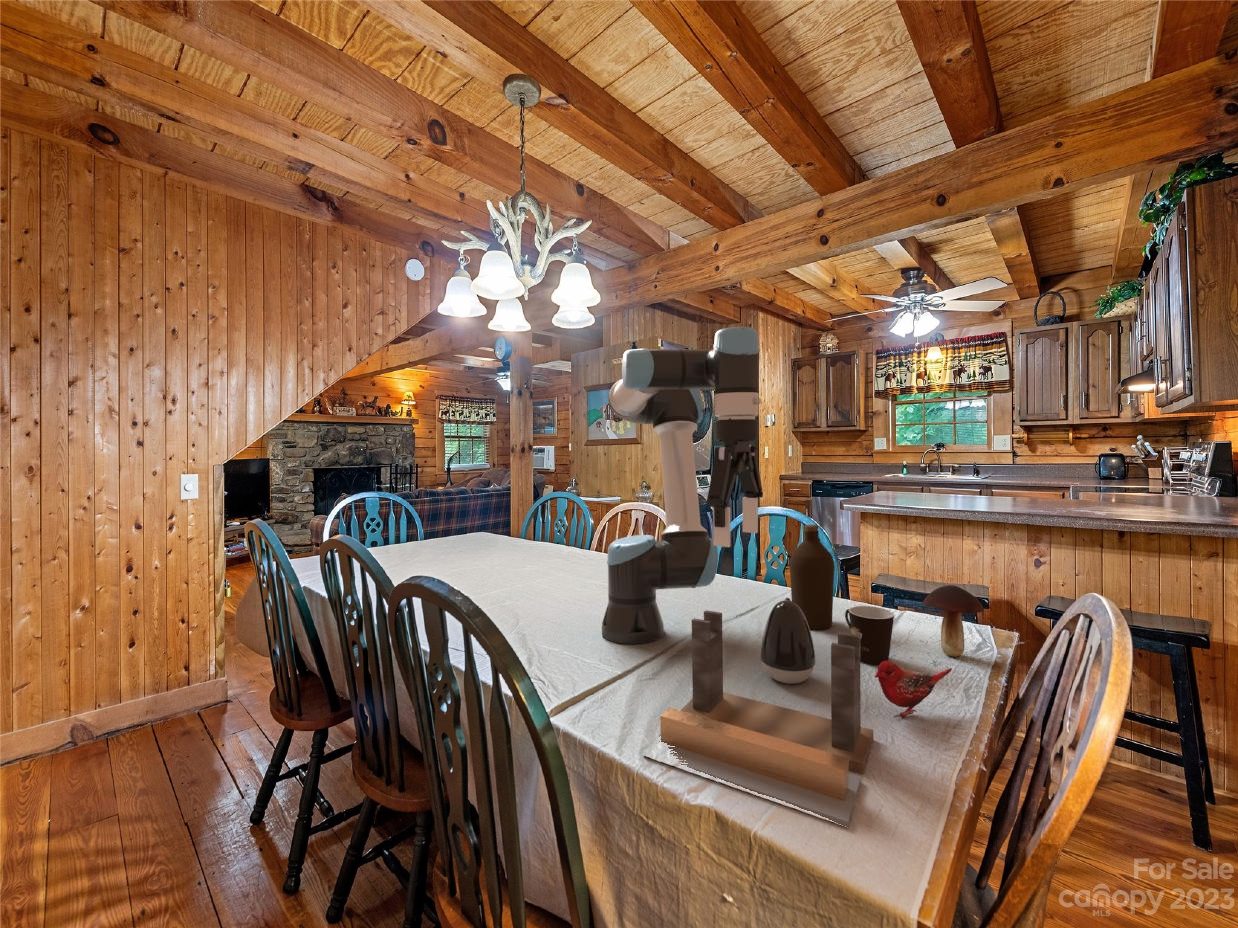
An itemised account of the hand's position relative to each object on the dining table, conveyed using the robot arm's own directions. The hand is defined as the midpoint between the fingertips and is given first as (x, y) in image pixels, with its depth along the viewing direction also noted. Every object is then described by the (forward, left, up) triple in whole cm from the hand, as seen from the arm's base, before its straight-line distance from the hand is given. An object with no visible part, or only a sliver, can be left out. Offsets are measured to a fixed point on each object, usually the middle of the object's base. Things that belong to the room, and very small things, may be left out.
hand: (736, 538), depth 93 cm
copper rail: (+8, -19, -28) cm, 35 cm away
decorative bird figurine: (+27, +10, -29) cm, 41 cm away
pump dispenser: (+5, +13, -29) cm, 32 cm away
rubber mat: (+8, -19, -29) cm, 35 cm away
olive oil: (+2, +47, -29) cm, 55 cm away
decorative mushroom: (+32, +41, -29) cm, 60 cm away
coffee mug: (+17, +32, -29) cm, 47 cm away
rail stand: (+8, -7, -29) cm, 31 cm away
